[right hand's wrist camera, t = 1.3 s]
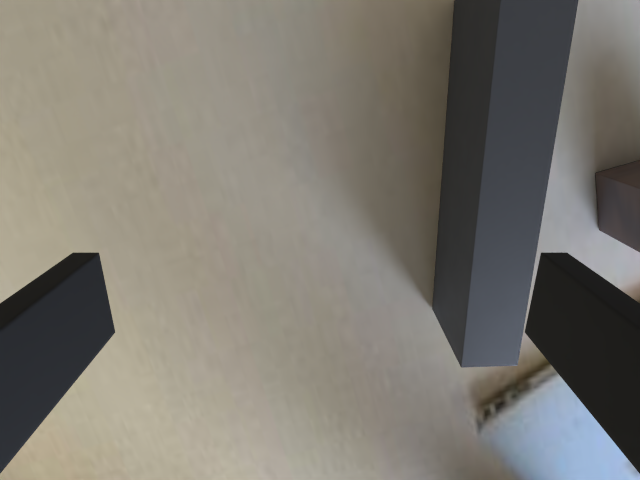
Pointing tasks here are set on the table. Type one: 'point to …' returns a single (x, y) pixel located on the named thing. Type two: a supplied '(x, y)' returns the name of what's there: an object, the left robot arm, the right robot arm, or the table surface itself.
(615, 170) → the metal cube
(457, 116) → the bar
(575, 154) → the table surface
